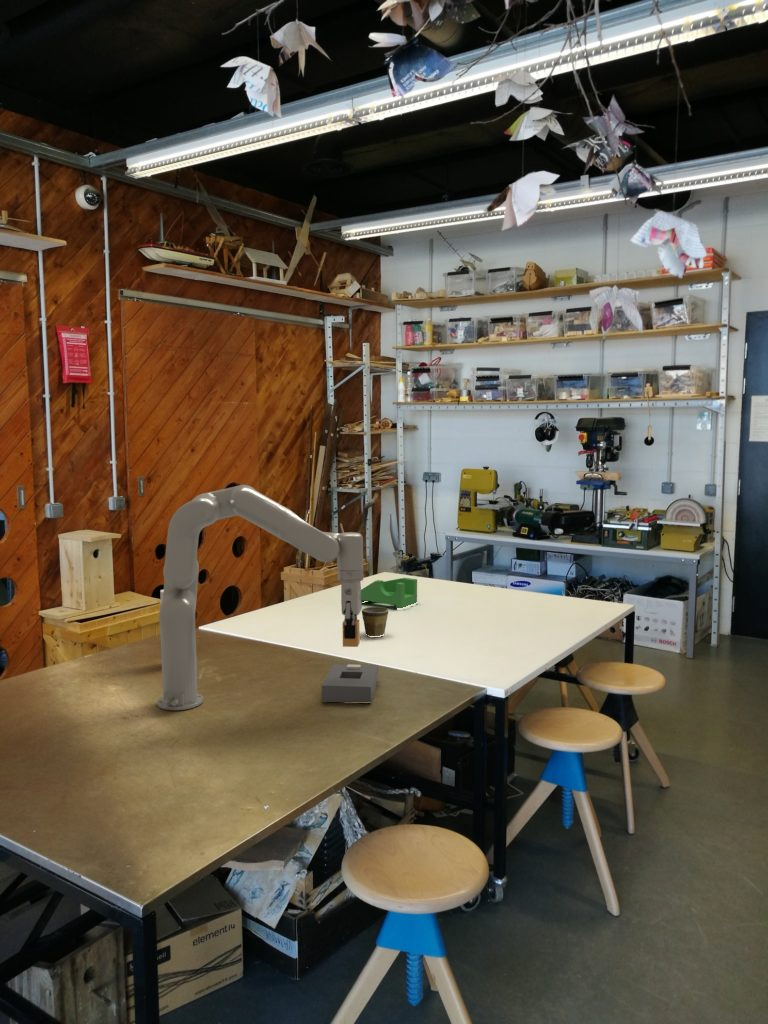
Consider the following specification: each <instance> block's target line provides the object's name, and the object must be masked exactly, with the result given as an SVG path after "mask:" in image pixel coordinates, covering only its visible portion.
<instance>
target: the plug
mask: <svg viewBox="0 0 768 1024" xmlns="http://www.w3.org/2000/svg"><path fill="white" fill-rule="evenodd" d="M351 615H353V614H351ZM354 615H355V614H354ZM350 618H352V617H350ZM341 625H342V647H343V648H345V647H347V648H350V647H351V648H352V647H353V648H358V647H359V645H360V643H361V642H360V639H361V638H360V636H361V635H360V619H357V620H355V616H354V625H355V639H345V638H344V625H345V619H344V620H343V621H342V624H341Z"/></svg>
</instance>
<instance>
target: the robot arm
mask: <svg viewBox="0 0 768 1024" xmlns="http://www.w3.org/2000/svg"><path fill="white" fill-rule="evenodd" d="M236 516H239V517H241V518H242V519H244V520H246V521H248V522H250V523H252V524H254V525H255V526H257V527H258V528H261V529H262V530H264V531H266V532H268V533H269V534H271V535H273V536H274V537H276V538H278V539H279V540H281V541H284V542H286V543H288V544H289V545H291V546H293V547H295V549H298V550H299V551H301V552H303V553H305V554H307V555H308V556H310V557H312V558H314V559H316V560H318V561H319V562H322V563H331V562H333V561H334V560H335V559H337V560H336V561H337V562H336V563H337V564H336V565H337V569H336V570H337V581H339V582H341V585H340V586H341V587H340V588H341V589H340V591H341V593H340V597H341V598H340V601H341V603H340V604H341V614H342V615H343V616H344V620H345V625H344V638H345V639H355V625H354V616H355V620H358V615H360V613H361V612H362V609H363V608H362V607H363V606H362V605H363V604H362V601H361V590H362V585H361V582H363V580H364V538H363V535H362V534H361V533H359V532H354V531H350V532H348V531H347V532H341V533H338V532H327V531H322V530H320V529H318V528H316V527H314V526H313V525H311V524H310V523H308V522H306V521H304V519H303V518H301V517H299V516H298V515H297V514H296V513H295V512H293V510H291V509H289V508H288V507H286V506H284V505H282V504H281V503H278V502H277V501H275V500H273V499H271V498H269V496H266V495H264V494H263V493H262V492H259V491H257V490H256V489H255V488H254V487H252V486H250V485H248V484H240V485H236V486H232V487H228V488H223V489H219V490H214V491H208V492H203V493H201V494H198V495H197V496H195V497H194V498H192V500H189V501H188V502H186V503H184V504H183V505H181V506H180V507H179V508H178V509H177V510H176V511H175V512H174V513H173V515H172V517H171V519H170V521H169V524H168V528H167V529H168V530H167V535H166V536H167V537H166V546H165V558H164V566H163V569H162V570H163V578H164V583H163V589H164V594H163V601H162V603H161V602H160V606H159V607H160V608H159V612H158V619H159V621H158V622H159V633H160V652H161V681H162V682H161V684H162V687H161V688H162V696H161V697H159V698H157V701H156V703H157V704H156V705H157V707H158V708H160V709H163V710H166V711H184V710H190V709H193V708H197V707H198V706H200V705H201V704H202V703H203V702H204V696H203V695H202V694H200V693H198V673H197V672H198V670H197V668H198V667H197V666H198V665H197V639H196V638H197V636H196V609H197V600H198V599H197V598H198V584H199V582H198V581H199V573H200V572H199V571H200V570H199V569H200V566H199V561H198V550H199V549H198V548H199V537H200V533H201V531H202V530H203V529H204V528H205V527H208V526H211V525H213V524H214V523H216V521H218V520H223V519H226V518H227V519H228V518H231V517H236ZM351 614H353V615H351ZM354 614H355V615H354ZM350 617H352V618H350Z"/></svg>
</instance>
